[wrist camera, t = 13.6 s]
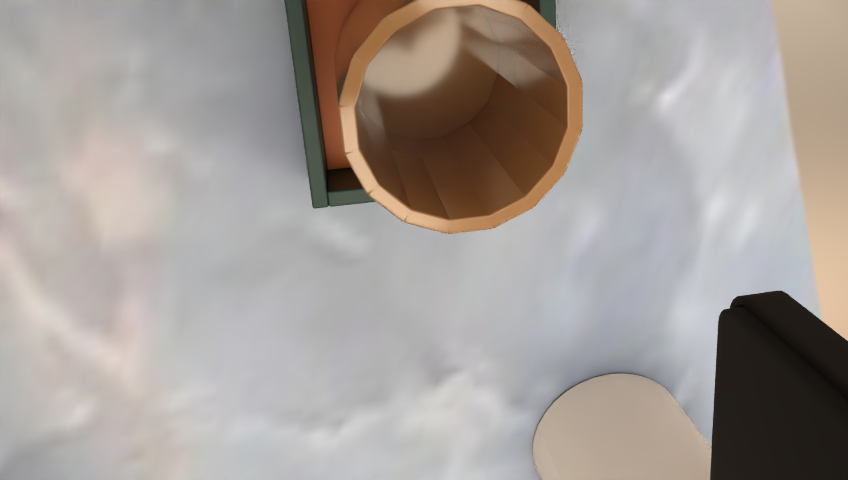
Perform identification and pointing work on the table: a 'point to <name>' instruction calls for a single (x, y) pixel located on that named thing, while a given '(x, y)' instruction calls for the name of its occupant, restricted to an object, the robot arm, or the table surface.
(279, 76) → the table surface
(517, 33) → the wooden cup
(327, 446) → the table surface
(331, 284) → the table surface
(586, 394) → the pill bottle
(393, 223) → the table surface
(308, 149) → the divided tray
